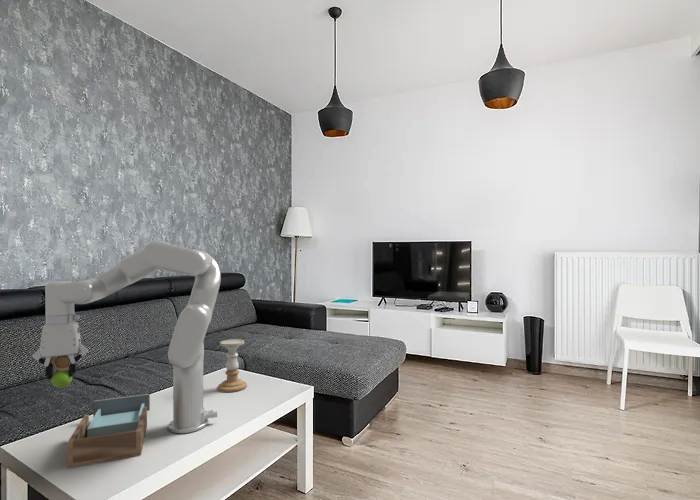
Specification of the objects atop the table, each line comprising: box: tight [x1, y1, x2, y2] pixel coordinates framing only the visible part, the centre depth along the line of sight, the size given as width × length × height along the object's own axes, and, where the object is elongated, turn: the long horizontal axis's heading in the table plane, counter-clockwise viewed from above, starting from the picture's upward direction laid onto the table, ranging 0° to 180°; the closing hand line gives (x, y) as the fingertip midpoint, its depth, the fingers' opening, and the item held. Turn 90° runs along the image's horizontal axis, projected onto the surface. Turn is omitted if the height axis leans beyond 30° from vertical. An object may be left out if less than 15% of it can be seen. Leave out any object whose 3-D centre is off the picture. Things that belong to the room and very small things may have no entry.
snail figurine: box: [50, 355, 73, 389], centre depth 128 cm, size 5×6×12 cm
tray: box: [87, 393, 151, 438], centre depth 136 cm, size 19×18×6 cm
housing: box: [67, 407, 148, 469], centre depth 123 cm, size 20×18×7 cm
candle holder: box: [217, 338, 248, 393], centre depth 175 cm, size 12×12×20 cm
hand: (61, 376), depth 128 cm, fingers closed on snail figurine, 5 cm apart
